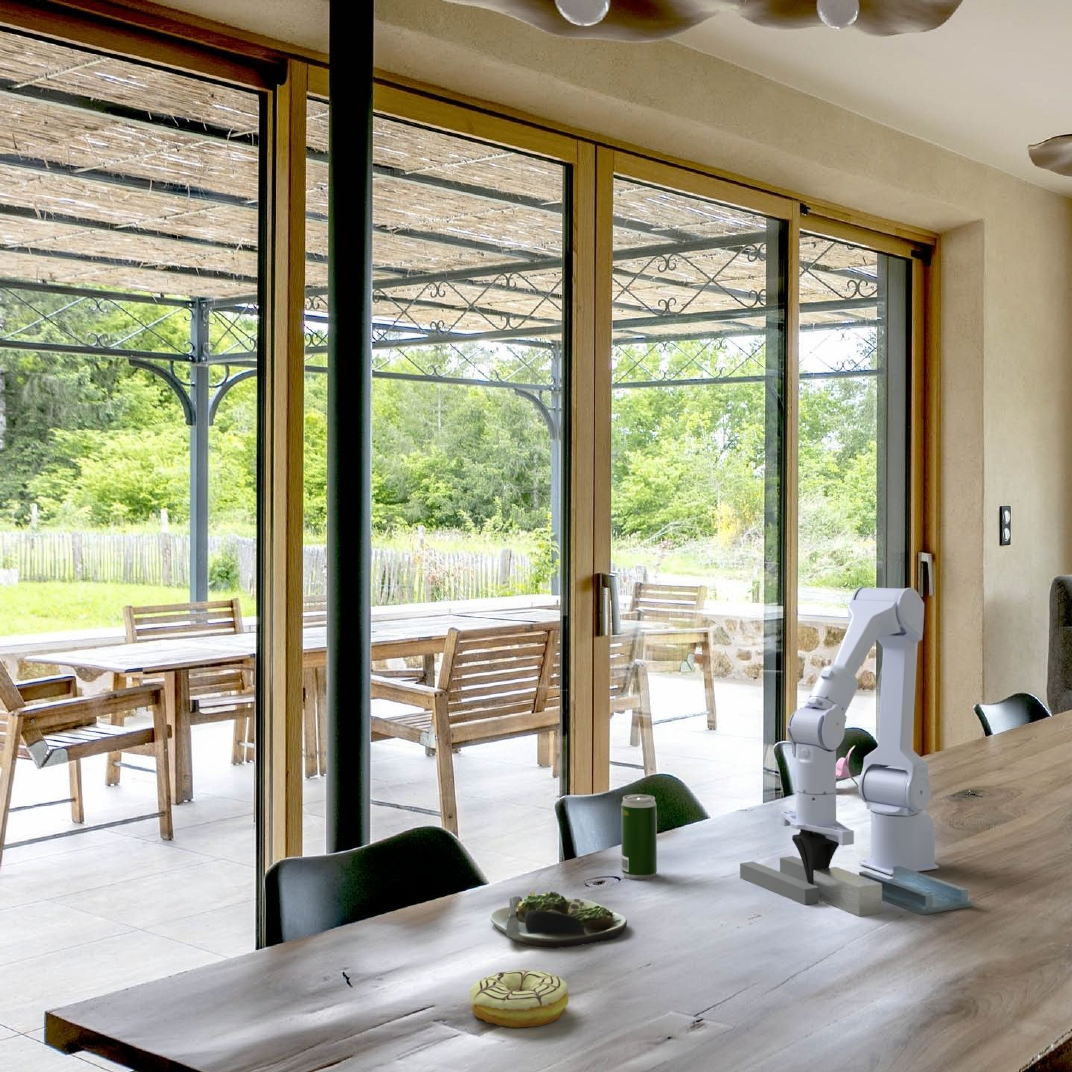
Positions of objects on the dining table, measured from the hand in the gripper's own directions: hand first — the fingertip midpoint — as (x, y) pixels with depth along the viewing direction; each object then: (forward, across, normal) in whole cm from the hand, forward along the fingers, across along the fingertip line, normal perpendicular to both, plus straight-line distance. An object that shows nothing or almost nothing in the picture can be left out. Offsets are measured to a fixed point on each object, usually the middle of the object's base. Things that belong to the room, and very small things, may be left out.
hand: (816, 884), depth 186 cm
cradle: (+1, +8, +11) cm, 14 cm away
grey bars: (+1, -4, 0) cm, 5 cm away
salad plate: (+2, -2, -41) cm, 41 cm away
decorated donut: (+2, +23, -58) cm, 62 cm away
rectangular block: (+1, +6, 0) cm, 7 cm away
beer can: (+2, -20, -18) cm, 27 cm away
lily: (+2, -58, +50) cm, 76 cm away
